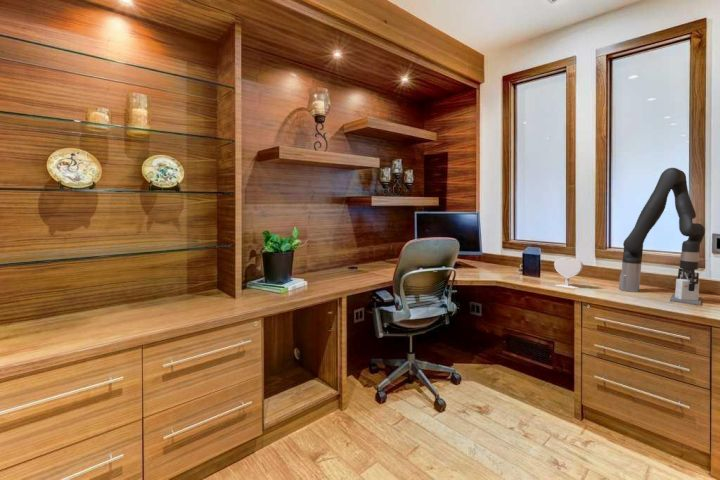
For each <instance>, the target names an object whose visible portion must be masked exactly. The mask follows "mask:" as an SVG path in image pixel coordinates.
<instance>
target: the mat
mask: <svg viewBox="0 0 720 480" xmlns="http://www.w3.org/2000/svg"><path fill="white" fill-rule="evenodd" d="M669 302H673V303H678V304H679V303H681V304H685V305H686V304H687V305H693V306H701V304H702V298H701V297H698V300H681V299H678V298H676V297H675V293H672V294H671V296H670V299H669Z"/></svg>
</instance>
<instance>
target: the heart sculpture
mask: <svg viewBox="0 0 720 480" xmlns="http://www.w3.org/2000/svg"><path fill="white" fill-rule="evenodd" d="M553 266H554V269H555V270H556V272H557V273H558V274H559V275H560V276H562V277H564V278H565V281H564V284H562V283H561V284H559V283H558V284H555V286H556V287H563V288H569V289H574V288H578V289H579V286H578V287H577V286H573V285H570V278H572V277H575V276H577V275H578V274H580V273H581V272H582V271H583V268H584V263H583V261H581V260H579V259H577V258H570V259H569V258H567V257H560V258H557V259H554V262H553Z"/></svg>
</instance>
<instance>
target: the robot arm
mask: <svg viewBox="0 0 720 480" xmlns="http://www.w3.org/2000/svg"><path fill="white" fill-rule="evenodd" d="M686 176H687V175H686V173H685V172H684V171H683V170H681V169H679V168H676V167H669V168H666V169H665V170H664V171H662V173H661V174H660V176H659V179H658V180H657V182H656V186H655V187H654V190H653V192H652V193H651V194H650V196H649V198H648V199H647V201H646V203H645V204H644V206H643V208H642V209H641V211H640V213H639V215H638V217H637V220H636V222H635V225H634V227H633V229H632V230H631V231H630V233H629V234H628V236H627V237H626V238H625V240H624V241H623V254H622V262H621V263H622V264H621V273H619V282H618V283H619V284H618V289H619V290H620V291H623V292H631V293H638V292H640V285H641V273H642V272H641V271H642V261H643V260H642V259H643V251H644V242H645V241H646V238H647V236H648V235H649V233H650V231H651V230H652V229H653V227H655V225H656V224H657V223H658V221H659V220H660V218H661V216H662V215H663V213H664V211H665V209H666V206H667V201H668V197H669V194H670V192H671V190H672V192H673V196H674V205H675V211H676V214H677V216H678V227H679V228H678V230H679V232H680V234H681V235H682V236H683V237H688V238H687V240H684V241H682V244H681V253H680V257H679V268H678V273H677V279H687V280H688V281H689V291H694V289H695V284H698V281H699V278H700V277H699V275H700V274H699V272H695V271H696V270H699V265H700V264H699V263H700V250H701V249H700V248H701V247H700V246H701V243H702V241H703V238H704V237H705V233H706V228H705V226H704V225H703V224H701V223H697V222H695V223H693V220H694V219H696V217H697V212H696V210H695V208H694V205H693V202H692V200H691V197H690V194H689V190H688V184H687V177H686ZM695 280H696V281H695Z"/></svg>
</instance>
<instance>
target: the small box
mask: <svg viewBox="0 0 720 480" xmlns="http://www.w3.org/2000/svg"><path fill="white" fill-rule="evenodd" d="M695 281H696V280H695ZM700 284H701V283H700V281H699V280H698V284H695V289H694V291H689V281H688V280H687V279H678V278H676V279H675V292H674V294H675V297H676V298H678V299H681V300H698V298H699V294H700V293H699V292H700Z"/></svg>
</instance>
